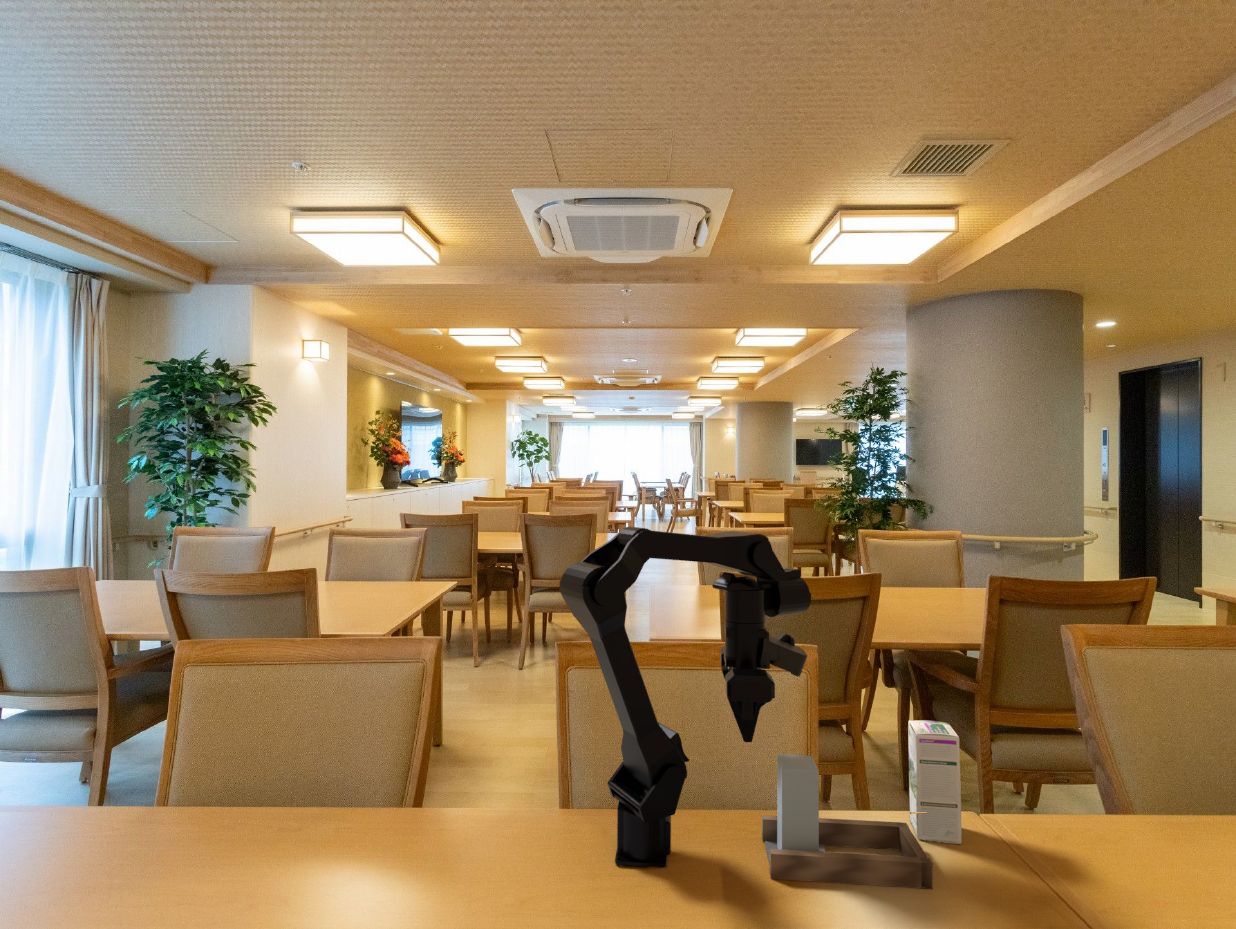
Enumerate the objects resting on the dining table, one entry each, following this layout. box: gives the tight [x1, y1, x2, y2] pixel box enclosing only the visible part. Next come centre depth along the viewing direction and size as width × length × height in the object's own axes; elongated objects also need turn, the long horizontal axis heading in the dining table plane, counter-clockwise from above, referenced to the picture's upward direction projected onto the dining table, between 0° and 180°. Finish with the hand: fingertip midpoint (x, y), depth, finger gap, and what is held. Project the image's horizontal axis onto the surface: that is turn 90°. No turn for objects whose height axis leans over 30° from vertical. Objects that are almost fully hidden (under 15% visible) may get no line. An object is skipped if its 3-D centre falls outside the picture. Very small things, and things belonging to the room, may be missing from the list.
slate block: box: [776, 753, 820, 851], centre depth 89 cm, size 4×4×12 cm
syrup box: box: [907, 719, 963, 845], centre depth 96 cm, size 6×6×14 cm
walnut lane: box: [761, 814, 934, 890], centre depth 88 cm, size 19×10×3 cm, turn 85°
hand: (744, 729), depth 99 cm, fingers open, 9 cm apart
